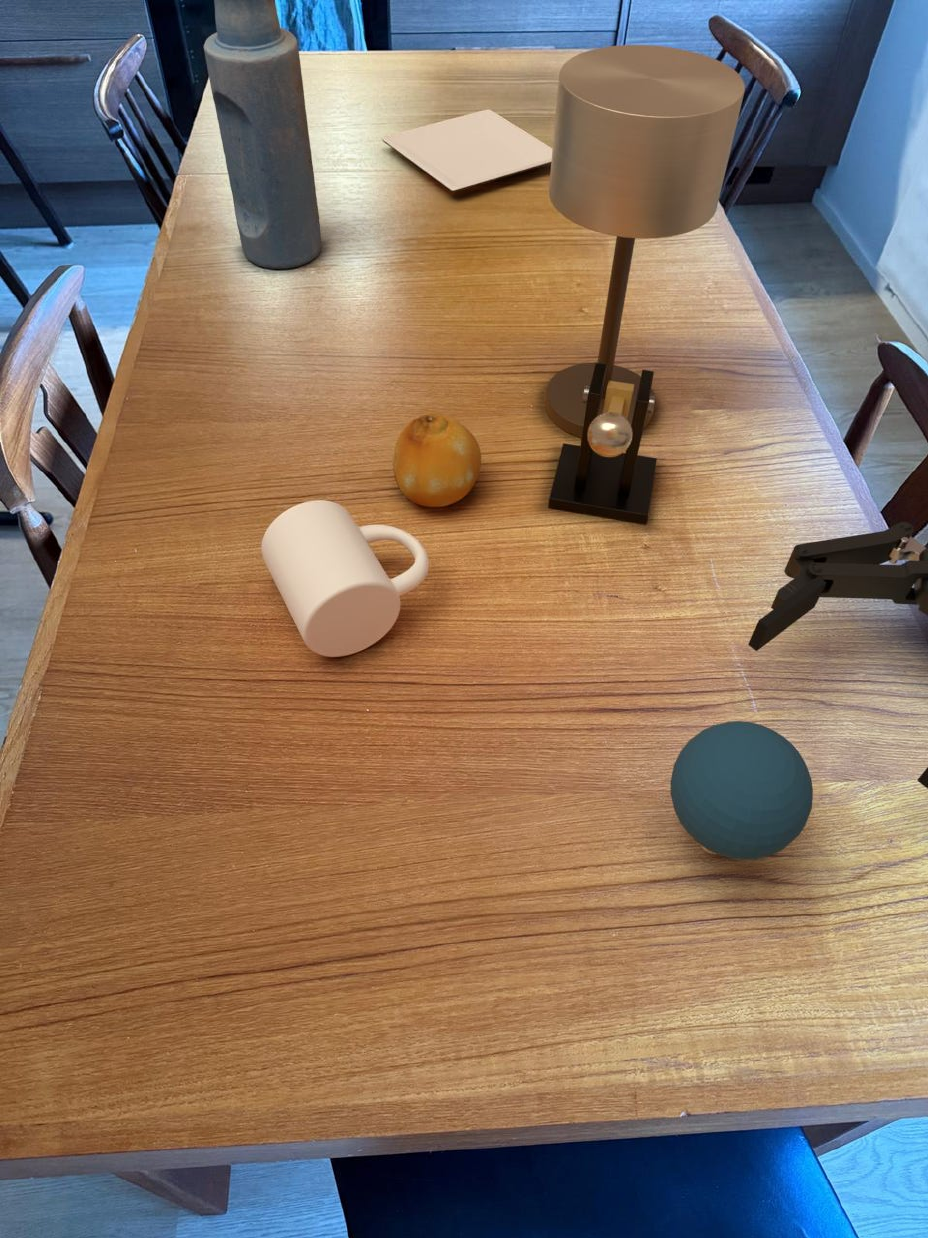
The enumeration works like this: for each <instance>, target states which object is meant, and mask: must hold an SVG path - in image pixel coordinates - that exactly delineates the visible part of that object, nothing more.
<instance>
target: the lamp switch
mask: <svg viewBox="0 0 928 1238" xmlns="http://www.w3.org/2000/svg"><path fill="white" fill-rule="evenodd" d="M633 390H634V384H628V383H621V382H615V381H609V382H608V386H607V390H606V396H605V401H604V407H603V412H602V414H601V415H599V416H597V417H596V418H595V419H594V420H593V421H592V422H591V424H590V426H589V429H588V434H587V436H588V442H589V445H590V447H591V448H592V450H593V451H594V452H595V453H597V454H598V455H600V456H603V457H616V456H618V455H620V454H622V453H625V452H626V449H627V448H628V447H629V445H630V443H631V440H632V428H631V425H630V423H629V422H628V420H627V419H628V416H629V411H630V406H631V401H632V396H633Z"/></svg>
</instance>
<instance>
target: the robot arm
mask: <svg viewBox="0 0 928 1238" xmlns="http://www.w3.org/2000/svg"><path fill="white" fill-rule="evenodd" d="M914 531H915V528H914V526H913V525H912V524H911V523H909V522H906V521H901V522H897V523H895V524H894V525H892V526H889V528H887V529H885V530H882V531H875V532H868V533H862V534H856V535H850V536H843V537H835V538H831V539H823V540H817V541H812V542H805V543H804V542H803V543H798V544H796V545H795V546H794V547H793V549H792V551H791V554H790V556H789V558H788V561H787V563H786V565H785V567H784V571H783V572H784V574H785V575H786V576H787V577H789V578H791V580H790V581H788V582H787V583H786V584H784V585H783V586H782V587H781V588H779V589H778V590H777V593H776V595H775V597H774V599H773V602H772V604H771V606H770V608H771V609H772V610H770V611H769V612H768V613H766V614H765V615H763V616H762V618H760V619H758V621H757V623H756V625H755V628H754V629H753V632H752V635H751V637H750V638H749V639H750V640H749V641H748V644H747V645H748V647H750V648H751V649H753V651H755V652H758V651H759V650H760V649H762V648H764V646H766V645H767V644H769V643H770V642H771V641H772V640H774V639H775V638H776V637H777V636H779V635H781V633H783V632H784V631H785V630H788V629H789V628H790V627H791V626H792V625H793V624H794V623H796V622H797V621H799V620H800V619H801V618H803V617H804V616H805V615H806V614H808V613H809V612H810V611H811V610H813V609H814V608H816V606H817V603H818V601H819V600H820V598H827V599H828V598H831V599H861V600H862V599H863V600H864V599H866V600H892V602H893V603H894V604H895V605H913V606H914V605H918V606H919V607H918V611H920V612H922V613H923V614H924V615H926V616H927V617H928V547H926V546H925V545H923V544H922V543H920V542H919V541H918V540H917V539H915V538H913V536H912V534H913V533H914ZM904 560H906V561H905V562H903V563H901V564H897V563H898V561H904ZM886 562H889V563H890V564H885V563H886ZM916 781H917V782H919V783H920V785H922V786H923V787H924V788H926V789H927V790H928V767H926V769H924V771H923V772H922V773H921V775H920V776H919V777H918V778H917V779H916Z"/></svg>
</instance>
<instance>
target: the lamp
mask: <svg viewBox="0 0 928 1238" xmlns="http://www.w3.org/2000/svg"><path fill="white" fill-rule="evenodd" d="M745 85H746V84H745V82H744V79H743V78H742V76H741V75H740V74H739V73H738V72H737V70H735V69H734V68H732V67H731V66H729V65H727V63H724V62H723V61H720V60H718V59H715V58H713V57H711V56H708V55H706V54H702V53H699V52H696V51H691V50H687V49H682V48H677V47H671V46H665V45H664V46H662V45H651V44H621V45H611V46H604V47H599V48H595V49H591V50H587V51H584V52H582V53H581V52H580V53H578V54H577V55H574V56H572V57H571V58H570V59H568V60H567V61H566V62H564V64H563V65H562V66H561V68H560V70H559V74H558V84H557V95H556V104H555V106H556V107H555V118H554V128H553V129H554V130H553V141H552V149H553V150H552V161H551V164H550V175H549V185H548V186H549V187H548V197H549V200H550V202H551V204H552V206H553V208H554V209H556V211H557V212H558V213H559V214H560V215H562V216H563V217H564V218H566V219H567V220H569V221H570V222H571V223H574V224H576V225H578V226H580V227H583V228H584V229H588V230H590V231H594V232H597V233H600V234H604V235H608V236H612V237H616V239H615V245H614V252H613V257H612V258H613V259H612V264H611V271H610V280H609V284H608V292H607V297H606V303H605V311H604V318H603V324H602V330H601V337H600V343H599V351H598V357H597V362H583V363H577V364H574V365H571V366H568V367H565V368H563V369H561V370H559V371H558V372H556V373H555V374H554V375H553V376H552V377H551V378H550V380H549V381H548V383H547V386H546V390H545V396H544V397H545V398H544V408H545V411H546V413H547V415H548V417H549V419H550V420H551V421H552V422H553V423H554V425H556V426H557V427H558V428H559V429H561V430H563V431H564V432H565V433H567V434H570V435H572V436H574V437H577V438H580V439H581V438H582V431H583V425H584V418H585V411H586V404H587V403H582V398H583V392H584V387H585V386H589V387H590V383H591V379H592V375H593V371H594V367H595V363H601V364H607V368H606V374H605V380H604V386H603V392H602V399H601V405H600V411H599V415H601V414H602V412H603V407H604V401H605V396H606V390H607V386H608V382H609V381H615V382H621V383H628V384H634V390H633V396H632V401H631V406H630V411H629V416H628V419H627V420H628V422H629V423H630V425H631V424H632V419H633V414H634V409H635V404H636V399H637V394H638V389H639V384H640V379H641V375H639V374H638V373H636V372H635V371H632V370H630V369H628V368H626V367H623V366H620V365H617V364H615V360H616V355H617V348H618V342H619V337H620V330H621V325H622V319H623V314H624V313H623V312H624V308H625V307H624V306H625V301H626V295H627V290H628V283H629V279H630V271H631V265H632V260H633V254H634V248H635V242H636V239H643V240H645V239H646V240H647V239H649V240H650V239H665V238H672V237H676V236H681V235H684V234H688V233H690V232H693V231H696V230H698V229H700V228H701V227H703V226H704V225H706V224H707V223H709V222H710V221H711V219H712V218H713V217H714V216H715V214H716V212H717V209H718V205H719V202H720V201H719V200H720V198H721V197H720V196H721V193H722V189H723V185H724V180H725V176H726V172H727V167H728V162H729V159H730V154H731V150H732V146H733V142H734V138H735V134H736V129H737V125H738V120H739V117H740V112H741V108H742V103H743V99H744V95H745V91H746V86H745ZM650 396H655V397H656V395H655V392H654V389H653V388H652V387H651V393H650ZM655 406H656V401H655V402H654V407H653V412H652V413H647V414H646V418H645V423H644V428H643V430H645V429H646V427H647V426H649V424H650V422H651V420H652V418H653V414H654V410H655Z"/></svg>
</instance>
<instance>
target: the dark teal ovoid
mask: <svg viewBox="0 0 928 1238" xmlns="http://www.w3.org/2000/svg"><path fill="white" fill-rule="evenodd" d="M669 783H670V784H669V785H670V797H671V801H672V806H673V809H674V813H675V815H676V817H677V819H678V821H679V823H680V825H681V826H682V827H683V829H684V830H685V831H686V833H687V834H688V835H689V836H690V837H691V838H692V839H693V840H694V841H695V842H696V843H698V844H699V845H700V846H701V848H702V850H703V851H705V852H706V853H708V854H711V855H719V856H722V857H725V858H728V859H732V860H743V861H749V860H750V861H751V860H759V859H762V858H766V857H769V856H773V855H774V854H777V853H778V852H781V851H782V850H785V849H786V848H787V847H788V846H790V844H791V843H792V842H793V841H795V840H796V839H797V838H798V837H799V836H800V834H801V833H802V832H803V830H804V828H805V827H806V825H807V823H808V820H809V818H810V815H811V812H812V809H813V800H814V788H813V781H812V777H811V774H810V771H809V769H808V766H807V763H806V761H805V760H804V757H803V756H802V754H801V753H800V752H799V750H798V749H797V748H796V747H795V745H793V744H792V742H791V741H789V740H788V739H787V738H786V737H784V736H783V735H782V734H780V733H778V732H777V731H775V730H774V729H772V728H770V727H767V726H765V725H762V724H758V723H755V722H751V721H745V720H744V721H743V720H735V721H726V722H722V723H717V724H714V725H713V724H712V725H711V726H709V727H707V728H705V729H702V730H701V731H700V732H699V733H697V734H696V735H694V736H693V737H691V738H690V739H689V740H688V741H687V742H686V744H685V745H684V746H683V747H682V749H681V750H680V752H679V753H678V755H677V758H676V760H675V761H674V764H673V768H672V773H671V777H670V781H669Z"/></svg>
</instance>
